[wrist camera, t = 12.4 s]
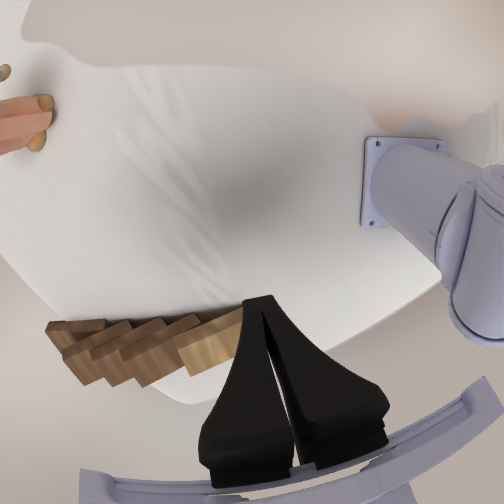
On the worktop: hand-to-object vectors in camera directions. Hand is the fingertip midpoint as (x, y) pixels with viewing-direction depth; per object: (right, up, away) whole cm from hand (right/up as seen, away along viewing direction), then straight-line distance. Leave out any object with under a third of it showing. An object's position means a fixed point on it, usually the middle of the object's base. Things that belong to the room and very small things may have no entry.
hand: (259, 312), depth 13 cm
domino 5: (0, -4, +14) cm, 14 cm away
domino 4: (-5, -5, +13) cm, 15 cm away
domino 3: (-8, -5, +13) cm, 16 cm away
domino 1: (-15, -6, +12) cm, 20 cm away
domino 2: (-12, -6, +13) cm, 18 cm away
